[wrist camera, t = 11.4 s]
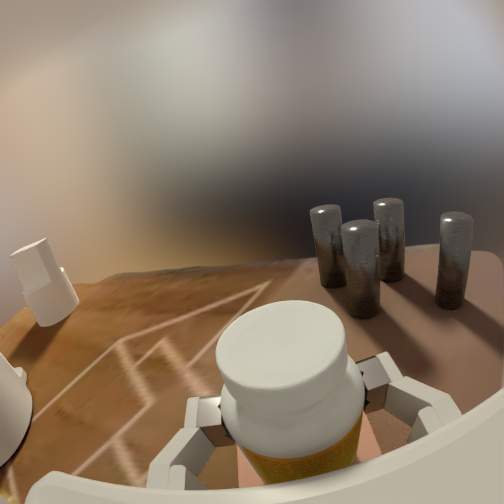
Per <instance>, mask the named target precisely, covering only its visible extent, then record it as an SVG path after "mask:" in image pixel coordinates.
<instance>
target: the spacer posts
mask: <svg viewBox="0 0 504 504" xmlns="http://www.w3.org/2000/svg"><path fill="white" fill-rule="evenodd" d="M373 204H374V215H375V222H374V221H371V220H354V221H350V222H347V223H345V224H343V225H342V219H341V211H340V207H339V206H337V205H322V206H318V207H315V208H313V209H311V210H310V216H311V222H312V228H313V234H314V240H315V246H316V253H317V260H318V267H319V274H320V281H321V284H322V286H324V287H326V288H338V287H341V286H343V285H345V284H346V285H347V299H348V312H349V314H350V315H351V316H353V317H355V318H358V319H368V318H371V317H374V316H375V315H376V314H377V313H378V312H379V310H380V280H382V281H385V282H397V281H399V280H401V279H402V278H403V277H404V261H405V242H404V210H403V201H402V200H400V199H396V198H383V199H379V200H376V201H374V203H373ZM472 235H473V217H472V216H470V215H468V214H466V213H462V212H447V213H444V214H442V215H441V227H440V251H439V265H438V276H437V286H436V294H435V302H436V304H437V305H438V306H439V307H441V308H443V309H447V310H455V309H458V308H460V307H461V306H462V304H463V301H464V295H465V290H466V284H467V278H468V271H469V264H470V256H471V246H472Z"/></svg>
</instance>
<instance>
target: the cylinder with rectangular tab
mask: <svg viewBox="0 0 504 504" xmlns="http://www.w3.org/2000/svg"><path fill="white" fill-rule="evenodd" d="M10 259H11V261H12V263H13V266H14V268H15V270H16V272H17V274H18V277H19V279H20V280H21V283H22V285H23V287H24V289H23V291H22V296H23V297H24V299H25V301H26V303H27V305H28V307H29V309H30V310H31V312H32V314H33V316H34V317H35V319H36V321H37V323H38V324H39V326H41V327H47V326H51V325H54V324H56V323H58V322H60V321H61V320H63V319H64V318H66V317H67V316H68V315H69V314H71V313H72V312H73V311H74V310H75V308H76V307H77V306H78V303H79V299H78V297H77V295H76V293H75V291H74V289H73V287H72V285H71V283H70V281H69V279H68V277H67V275H66V272H65V270H64V268H62V267H59V264H58V262H57V260H56V257H55V255H54V253H53V250H52V248H51V246H50V243H49V241H48V238H45V239H43V240H40V241H38V242H35V243H33V244H31V245H28V246H26V247H24V248H21V249H19V250H18V251H16V252H15V253H13V254H12V255H10Z"/></svg>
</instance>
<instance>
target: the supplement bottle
mask: <svg viewBox="0 0 504 504" xmlns="http://www.w3.org/2000/svg"><path fill="white" fill-rule="evenodd" d="M216 361H217V365H218V368H219V371H220V373H221V375H222V378H223V380H224V386H223V389H222V393H221V399H220V408H221V414H222V418H223V421H224V423H225V425H226V427H227V429H228V431H229V433H230V434H231V436H232V437H233V439H234V440H235V442H236V443H237V445H238V446H239V448H240V449H241V451H242V452H243V454H244V455H245V456H246V458H247V459H248V461H249V462H250V464H251V465H252V467H253V468H254V470H255V471H256V472H257V474H258V476H259V477H260V478H261V479H262V480H263V482H264V483H265V484H266V485H270V484H276V483H282V482H288V481H293V480H298V479H303V478H308V477H312V476H316V475H320V474H324V473H328V472H332V471H335V470H339V469H342V468H346V467H349V466H352V465H354V463H355V459H356V455H357V449H358V443H359V437H360V431H361V425H362V417H363V408H364V399H365V387H364V381H363V378H362V374H361V372H360V370H359V368H358V366H357V365H356V363H355V362H354V361H353V359H352V358H351V357H350V356H349V355H348V352H347V342H346V334H345V329H344V326H343V324H342V322H341V320H340V319H339V317H338V316H337V315H336V314H335V313H334V312H333V311H331V310H330V309H328V308H326V307H324V306H322V305H319V304H317V303H312V302H308V301H280V302H275V303H271V304H267V305H264V306H261V307H259V308H256V309H254V310H251V311H249V312H247V313H245V314H244V315H242V316H241V317H239V318H238V319H236V320H235V321H234V322H233V323H232V324H231V325H230V326H229V327H228V328H227V329H226V330H225V331H224V332H223V334H222V335H221V337H220V339H219V341H218V344H217V347H216Z"/></svg>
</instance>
